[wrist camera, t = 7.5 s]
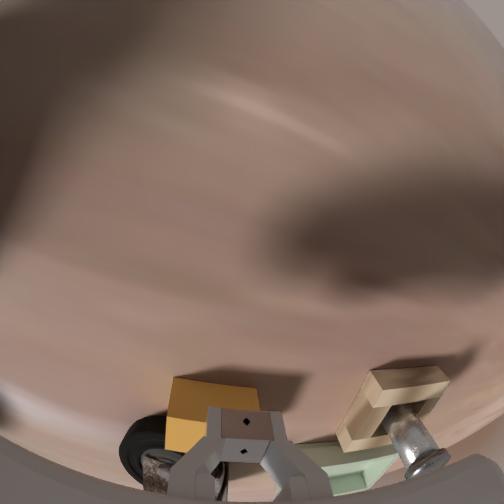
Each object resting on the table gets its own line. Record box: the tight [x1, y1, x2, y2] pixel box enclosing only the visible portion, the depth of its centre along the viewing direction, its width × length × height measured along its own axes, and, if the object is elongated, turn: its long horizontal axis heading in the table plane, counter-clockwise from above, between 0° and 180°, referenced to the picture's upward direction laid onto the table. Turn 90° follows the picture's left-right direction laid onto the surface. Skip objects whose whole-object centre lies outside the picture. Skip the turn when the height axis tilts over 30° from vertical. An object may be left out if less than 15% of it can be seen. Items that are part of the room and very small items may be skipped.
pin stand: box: [336, 365, 451, 453], centre depth 21 cm, size 8×8×2 cm
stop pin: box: [381, 403, 451, 480], centre depth 18 cm, size 4×4×9 cm
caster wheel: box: [119, 416, 229, 501], centre depth 19 cm, size 7×11×10 cm
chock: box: [165, 377, 260, 453], centre depth 18 cm, size 6×4×4 cm, turn 77°
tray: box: [275, 441, 399, 496], centre depth 23 cm, size 11×8×3 cm
